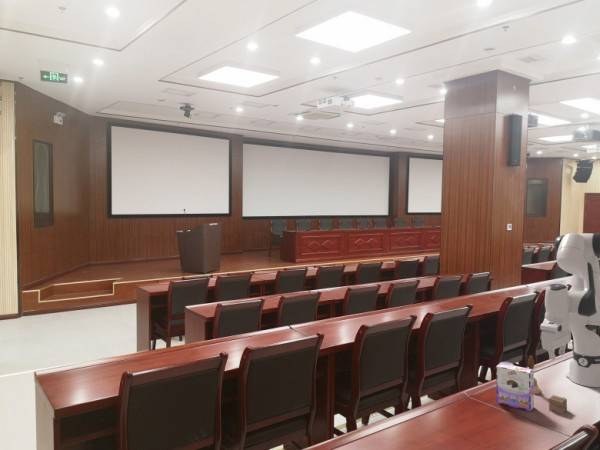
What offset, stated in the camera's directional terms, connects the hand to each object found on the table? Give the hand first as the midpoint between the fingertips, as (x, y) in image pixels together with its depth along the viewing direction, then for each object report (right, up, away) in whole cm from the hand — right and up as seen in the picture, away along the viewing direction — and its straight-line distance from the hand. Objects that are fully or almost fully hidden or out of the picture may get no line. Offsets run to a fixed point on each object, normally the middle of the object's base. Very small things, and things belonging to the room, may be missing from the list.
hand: (557, 356), depth 180 cm
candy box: (-14, -23, +6) cm, 28 cm away
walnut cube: (+1, -23, 0) cm, 23 cm away
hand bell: (0, -22, +21) cm, 31 cm away
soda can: (-10, -22, +23) cm, 33 cm away
